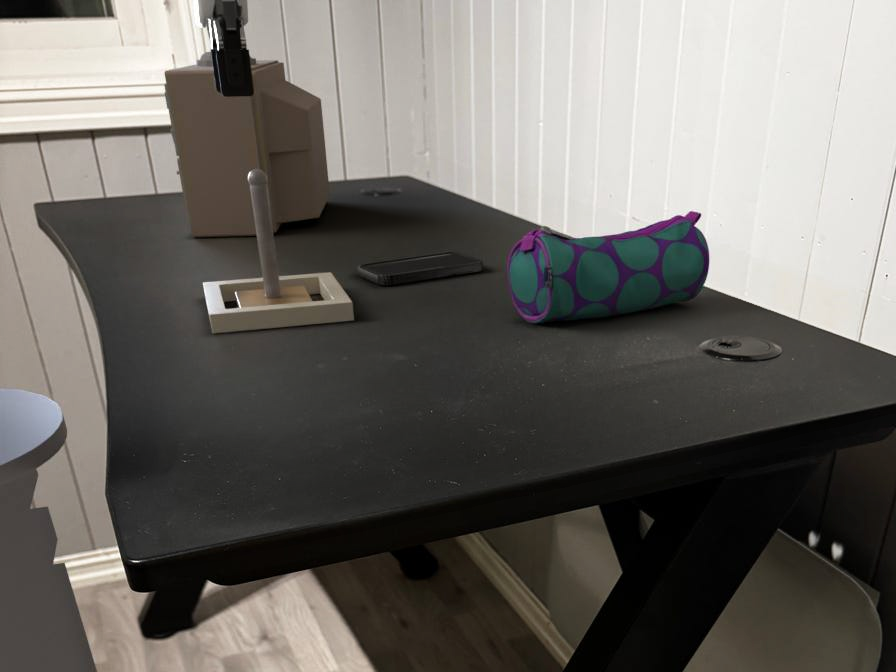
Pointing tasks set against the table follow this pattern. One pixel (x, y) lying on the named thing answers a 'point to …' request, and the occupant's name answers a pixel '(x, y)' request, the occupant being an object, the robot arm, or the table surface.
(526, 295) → the pencil case
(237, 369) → the table surface
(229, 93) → the robot arm
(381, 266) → the phone
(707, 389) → the table surface
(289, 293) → the wooden base with peg
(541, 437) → the table surface
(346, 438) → the table surface
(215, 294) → the white square frame
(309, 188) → the television
